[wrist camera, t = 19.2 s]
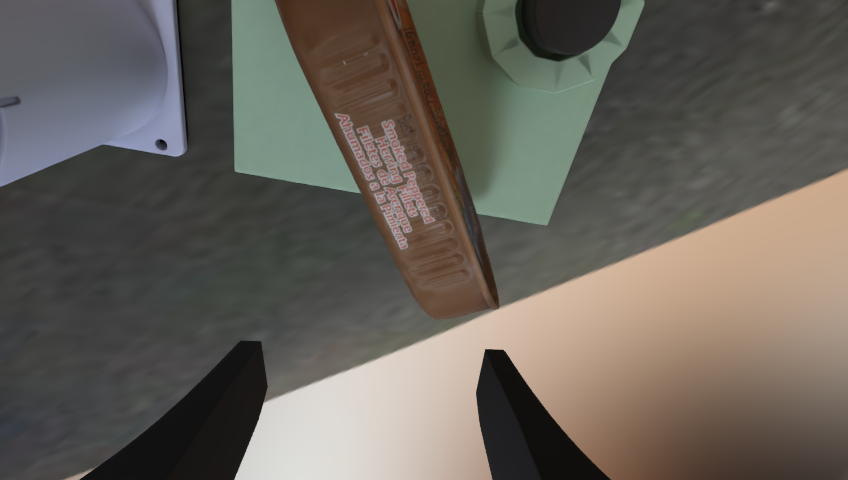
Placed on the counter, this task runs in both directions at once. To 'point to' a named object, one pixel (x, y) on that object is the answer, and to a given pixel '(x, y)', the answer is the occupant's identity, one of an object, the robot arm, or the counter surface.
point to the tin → (395, 145)
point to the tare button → (568, 23)
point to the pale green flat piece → (458, 93)
